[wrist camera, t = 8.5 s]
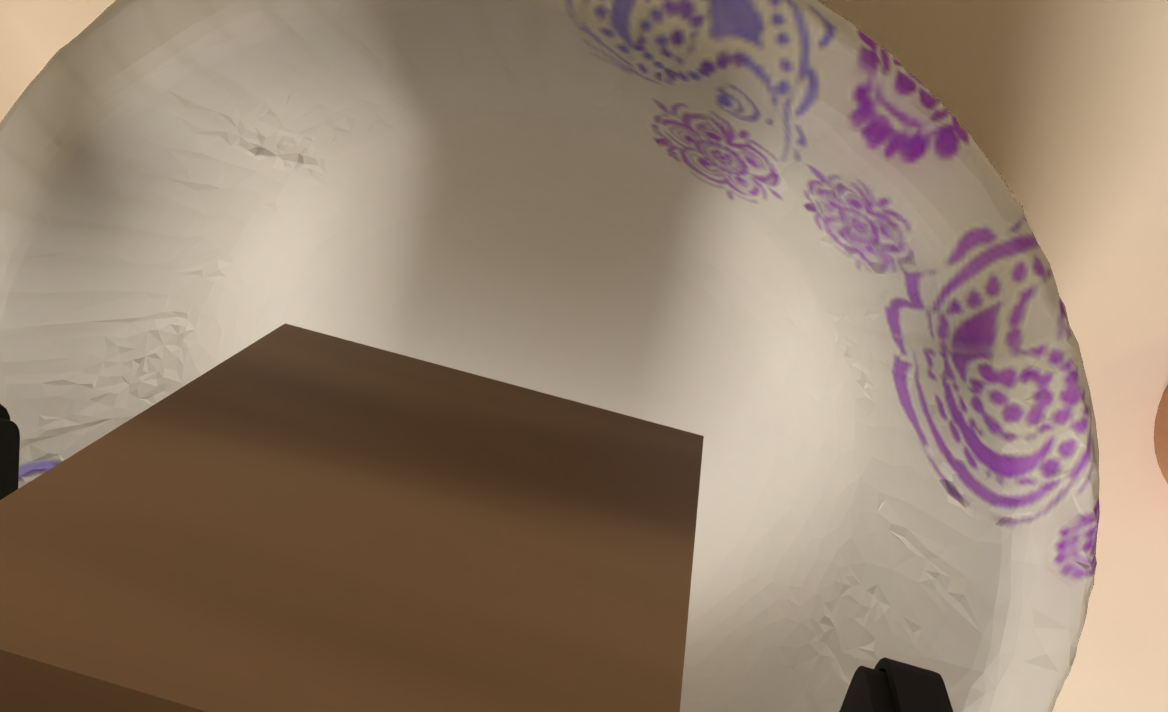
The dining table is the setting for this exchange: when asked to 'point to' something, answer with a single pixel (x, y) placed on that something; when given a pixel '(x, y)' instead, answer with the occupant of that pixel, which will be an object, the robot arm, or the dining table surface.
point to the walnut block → (353, 548)
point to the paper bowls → (598, 290)
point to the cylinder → (1162, 435)
